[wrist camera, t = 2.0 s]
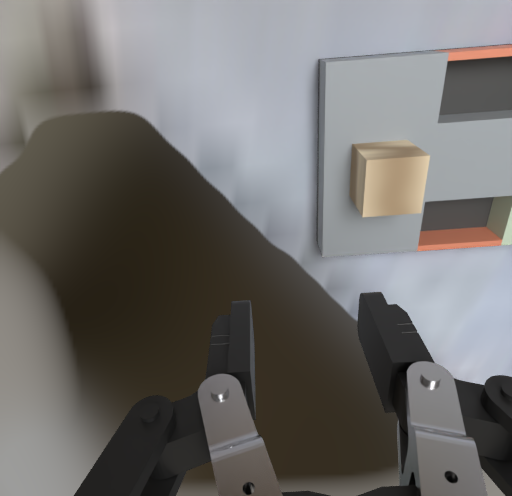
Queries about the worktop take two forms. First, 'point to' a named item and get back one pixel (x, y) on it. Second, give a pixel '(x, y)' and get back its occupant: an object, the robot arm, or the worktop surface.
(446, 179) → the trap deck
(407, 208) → the maple block
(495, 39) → the worktop surface
